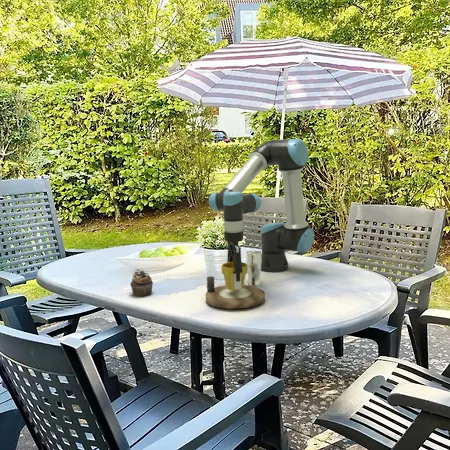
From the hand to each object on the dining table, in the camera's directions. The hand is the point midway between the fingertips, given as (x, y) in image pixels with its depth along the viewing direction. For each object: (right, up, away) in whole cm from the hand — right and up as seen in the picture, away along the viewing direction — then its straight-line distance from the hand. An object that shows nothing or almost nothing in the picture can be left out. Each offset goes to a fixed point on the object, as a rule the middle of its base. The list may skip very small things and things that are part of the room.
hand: (234, 284), depth 192 cm
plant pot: (0, -2, 0) cm, 2 cm away
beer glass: (+9, -3, +23) cm, 25 cm away
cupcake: (-40, -6, +14) cm, 43 cm away
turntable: (0, -5, +1) cm, 6 cm away
